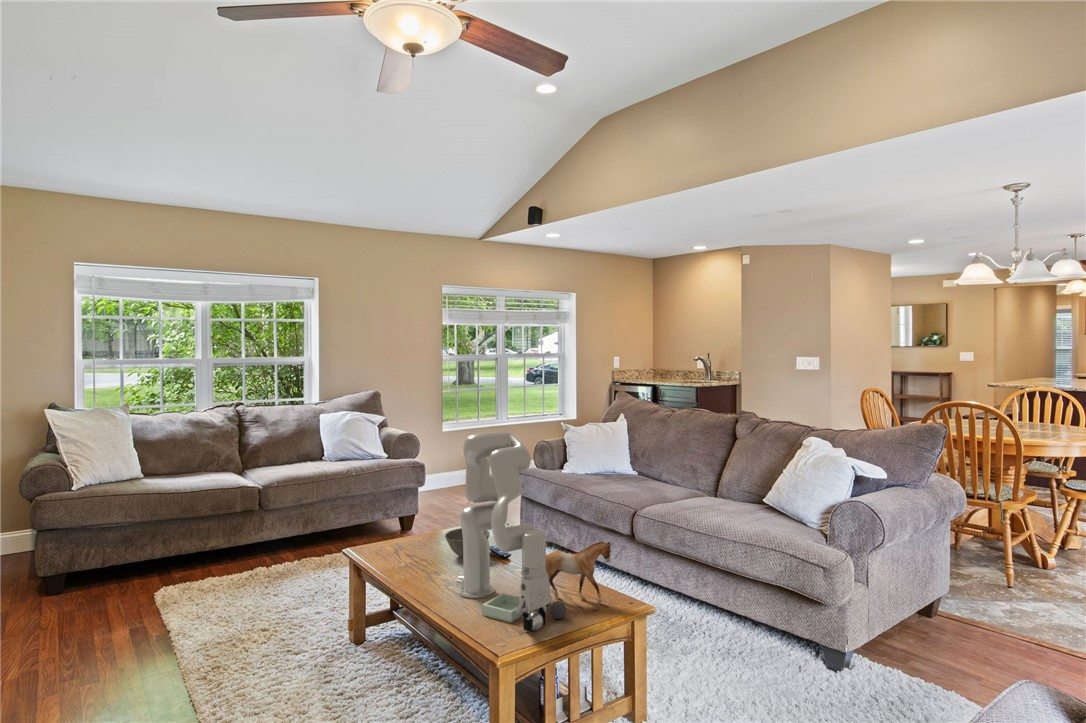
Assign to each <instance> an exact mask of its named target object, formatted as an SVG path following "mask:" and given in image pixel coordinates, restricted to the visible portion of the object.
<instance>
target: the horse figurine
mask: <svg viewBox="0 0 1086 723" xmlns="http://www.w3.org/2000/svg"><path fill="white" fill-rule="evenodd" d="M612 545H613V543H612V541H608V542H605V541H599V542H598V541H597V542H595V543H591V544H590V545H589V546H587V547H585V548H584V549H582V550H580V551H578V552H577V553H566V552H564V551H561V550H555V551H552V552H550V553H547V554H546V572H547V573H548V577H549V583H550V587H551V588H552V591H553V592H554V593H553V595H554V597H555V598H556V599H558V598H559V592H558V589H557V587H556V586H555V584H554V581H553V580H554V578H556V577H557V576H558V575H559V573H560V572H562V573H565V574H569V575H580V578H579V586H578V587H579V588H578V593H577V594H578V595H579V596H580V598H579V599H580V600H581V599H582V600H581V601H586V600H587V599H586V597H585V596H584V595H583V593H582V589H583V586H584V582H585V578H586V579H587V580H588V581H589V583H591V584H592V586H593V587H594V588H595V590H596V593H597V600H596V601H597V603H598V604H599V605H601V604H602V594H601V592H600V588H599V585H598V584H597V582H596V579H595V577H594V573H595V564H596V562H597V560H598V558H599V556H600V555H602V557H603V558H604V560H605V563H610V562H611V552H612V550H611V546H612Z"/></svg>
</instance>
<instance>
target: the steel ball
mask: <svg viewBox="0 0 1086 723" xmlns="http://www.w3.org/2000/svg"><path fill="white" fill-rule="evenodd" d="M530 619H532V631H538V630H540V629H541V628H542V627H543V617H542V615H541V614H540V613H538V612H537V611H532V614H531V618H530Z"/></svg>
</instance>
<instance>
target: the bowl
mask: <svg viewBox="0 0 1086 723" xmlns="http://www.w3.org/2000/svg"><path fill="white" fill-rule="evenodd" d="M483 534H484V535H485V537H486V538H487V539H488V540H489V537H490V532H489V530H487V531H484V532H483ZM444 537H445V540H446V542H447V544H448V546H449V547H450V549H451V550H452V552H453V553H454V554H455V555H456V556H457V557H458V556H459V558H462V559H463V534H462V528H461V527H460V528H456V529H452V530H449V531H447V532H446V533H445V534H444Z"/></svg>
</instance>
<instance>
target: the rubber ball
mask: <svg viewBox="0 0 1086 723" xmlns="http://www.w3.org/2000/svg"><path fill="white" fill-rule="evenodd" d="M567 610H568V609H567V606H566V604H565V603H564V602H563V601H559V600H556V601H554V602H552V603H551V604H550V606H549V612H550V616H551V617H552V618H553V619H556V620H561V619H563V618H564V617H565V616H566V614H567Z"/></svg>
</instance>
